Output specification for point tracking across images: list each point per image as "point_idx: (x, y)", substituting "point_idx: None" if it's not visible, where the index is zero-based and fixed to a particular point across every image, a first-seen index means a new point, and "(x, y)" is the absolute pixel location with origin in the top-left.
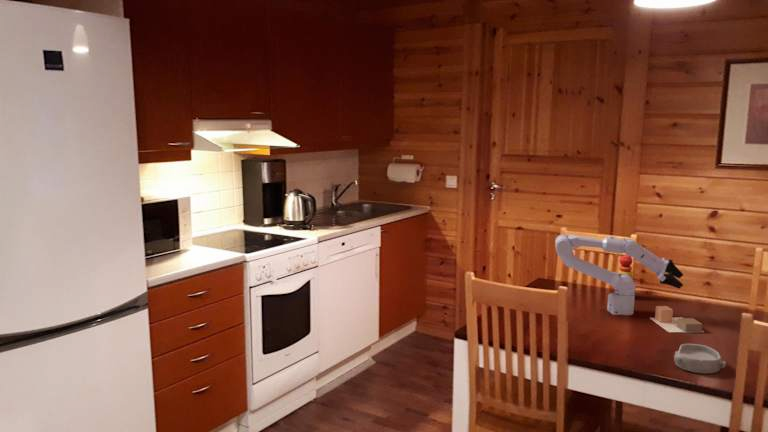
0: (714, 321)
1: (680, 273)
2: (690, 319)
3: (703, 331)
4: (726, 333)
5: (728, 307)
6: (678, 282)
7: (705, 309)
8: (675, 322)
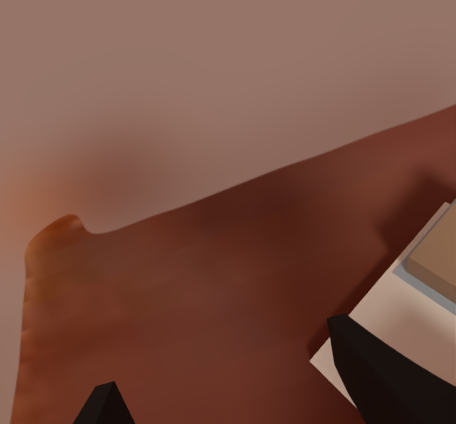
0: (229, 247)
1: (107, 415)
2: (452, 257)
3: (445, 205)
4: (342, 164)
5: (48, 273)
6: (393, 352)
7: (101, 327)
8: (437, 363)
